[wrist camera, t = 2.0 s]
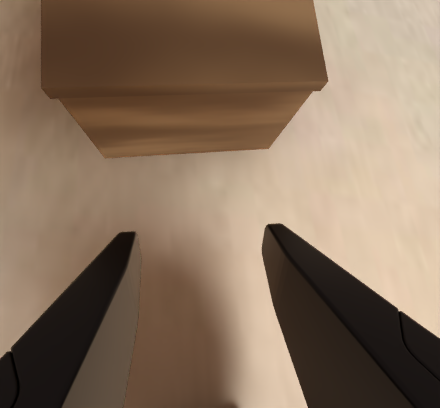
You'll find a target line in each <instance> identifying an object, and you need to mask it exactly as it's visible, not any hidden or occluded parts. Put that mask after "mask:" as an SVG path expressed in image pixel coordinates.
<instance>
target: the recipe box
mask: <svg viewBox="0 0 440 408" xmlns="http://www.w3.org/2000/svg"><path fill="white" fill-rule="evenodd" d="M327 82H328V77H327V72H326V66H325V61H324V56H323V50H322V45H321V40H320V34H319V29H318V24H317V19H316V13H315V8H314V3H313V0H41V88H42V89H43V91H44V92H45V93H46V94H47V95H48V97H49V98H50V99H59V100H60V101H61V102H62V104H63V105H64V106H65V108H66V109H67V110H68V111H69V113H70V114H71V115H72V117H73V118H74V119H75V120H76V122H77V123H78V124H79V125H80V127H81V128H82V129H83V131H84V132H85V133H86V134H87V136H88V137H89V138H90V140H91V141H92V142H93V143H94V145H95V146H96V147H97V149H98V150H99V151H100V152H101V154H102V155H103V156H104V158H116V157H134V156H151V155H168V154H186V153H203V152H220V151H238V150H255V149H269V147H270V146H271V145H272V143H273V142H274V141H275V140H276V138H277V137H278V136H279V134H280V133H281V132H282V130H283V129H284V128H285V127H286V125H287V124H288V123H289V121H290V120H291V119H292V117H293V116H294V115H295V114H296V112H297V111H298V110H299V108H300V107H301V106H302V105H303V103H304V102H305V101H306V99H307V98H308V97H309V95H310V94H311V93H312V92H313V91H321V89H322V88H323V87H324V86H325V85H326V83H327Z"/></svg>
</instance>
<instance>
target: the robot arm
mask: <svg viewBox="0 0 440 408" xmlns="http://www.w3.org/2000/svg"><path fill="white" fill-rule="evenodd" d="M262 256H263V261H264V266H265V270H266V275H267V279H268V284H269V289H270V293H271V298H272V302H273V306H274V309H275V313H276V316H277V319H278V321H279V324H280V327H281V330H282V333H283V336H284V339H285V342H286V345H287V348H288V351H289V354H290V356H291V359H292V362H293V365H294V368H295V371H296V374H297V377H298V380H299V383H300V386H301V389H302V391H303V394H304V397H305V400H306V403H307V406H308V408H440V338H438V337H437V336H435V335H434V334H433V333H431V332H430V331H428V330H427V329H426V328H424V327H423V326H421V325H420V324H418V323H417V322H416V321H414V320H413V319H412V318H410V317H409V316H408V315H406V314H405V313H403V312H402V311H398V308H396V307H395V306H394V305H392V304H391V303H390V302H388V301H387V300H385V299H384V298H383V297H381V296H380V295H379V294H377V293H376V292H375V291H373V290H372V289H370V288H369V287H368V286H366V285H365V284H364V283H362V282H361V281H359V280H358V279H357V278H355V277H354V276H353V275H351V274H350V273H349V272H347V271H346V270H344V269H343V268H342V267H340V266H339V265H338V264H336V263H335V262H334V261H332V260H331V259H329V258H328V257H327V256H325V255H324V254H323V253H321V252H320V251H318V250H317V249H316V248H314V247H313V246H312V245H310V244H309V243H308V242H306V241H305V240H303V239H302V238H301V237H299V236H298V235H297V234H295V233H294V232H293V231H291V230H290V229H288V228H287V227H286V226H284V225H283V224H280V223H278V224H268V225H266V227H265V231H264V237H263V243H262ZM140 279H141V253H140V247H139V240H138V235H137V233H136V232H135V231H131V232H120V233H119V234H118V235H117V236H116V237H115V238H114V239H113V240H112V241H111V242H110V243H109V244H108V245H107V246H106V247H105V248H104V249H103V250H102V252H101V253H100V254H99V255H98V256H97V257H96V258H95V259H94V260H93V261H92V262H91V263H90V264H89V265H88V266H87V268H86V269H85V270H84V271H83V272H82V273H81V274H80V275H79V276H78V277H77V278H76V279H75V280H74V281H73V282H72V283H71V285H70V286H69V287H68V288H67V289H66V290H65V291H64V292H63V293H62V294H61V295H60V296H59V297H58V298H57V299H56V300H55V302H54V303H53V304H52V305H51V306H50V307H49V308H48V309H47V310H46V311H45V312H44V313H43V314H42V315H41V316H40V318H39V319H38V320H37V321H36V322H35V323H34V324H33V325H32V326H31V327H30V328H29V329H28V330H27V331H26V332H25V333H24V335H23V336H22V337H21V338H20V339H19V340H18V341H17V342H16V343H15V344H14V345H13V346H12V347H11V351H8V352H6V353H5V355H4V356H3V357H2V358H1V359H0V408H123V406H124V401H125V395H126V389H127V383H128V377H129V372H130V366H131V360H132V354H133V348H134V343H135V337H136V331H137V324H138V316H139V300H140Z"/></svg>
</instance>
